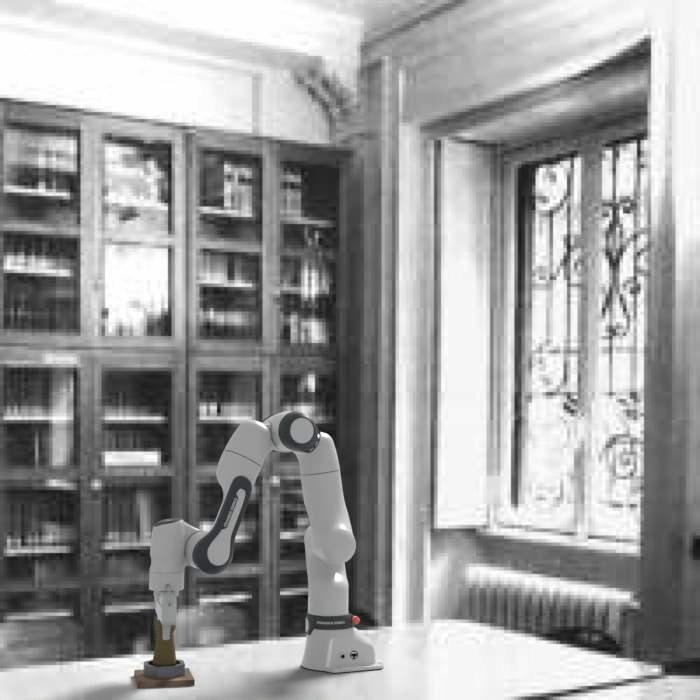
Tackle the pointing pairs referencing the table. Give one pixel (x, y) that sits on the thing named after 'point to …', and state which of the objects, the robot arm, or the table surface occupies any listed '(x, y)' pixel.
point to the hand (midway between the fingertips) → (164, 637)
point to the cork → (164, 647)
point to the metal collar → (164, 670)
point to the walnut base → (163, 680)
